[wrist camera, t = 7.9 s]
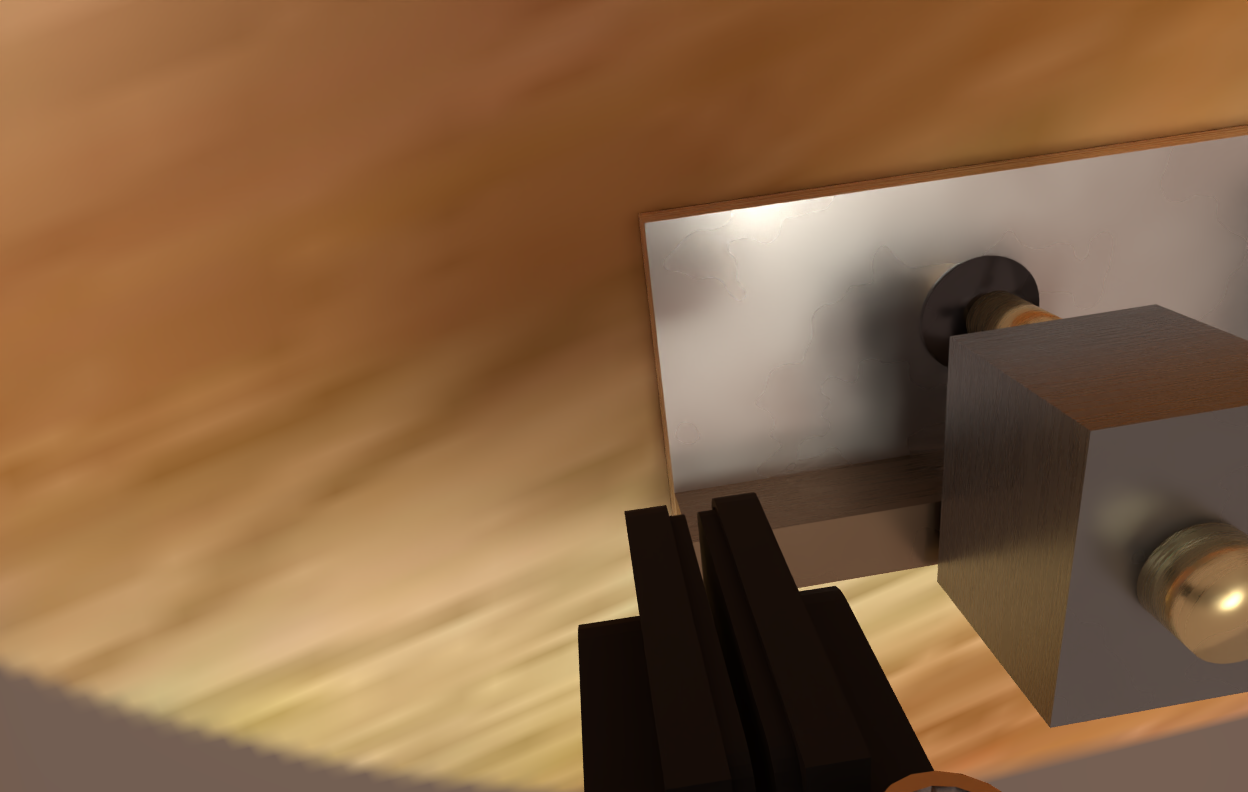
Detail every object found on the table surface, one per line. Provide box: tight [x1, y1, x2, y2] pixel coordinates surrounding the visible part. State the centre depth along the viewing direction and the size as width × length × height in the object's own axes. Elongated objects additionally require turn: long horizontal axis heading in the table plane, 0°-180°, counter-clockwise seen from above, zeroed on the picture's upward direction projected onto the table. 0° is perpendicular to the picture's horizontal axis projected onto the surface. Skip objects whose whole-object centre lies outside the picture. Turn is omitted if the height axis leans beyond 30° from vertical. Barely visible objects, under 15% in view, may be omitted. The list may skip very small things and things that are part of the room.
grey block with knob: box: [937, 290, 1248, 728], centre depth 14 cm, size 4×6×7 cm
